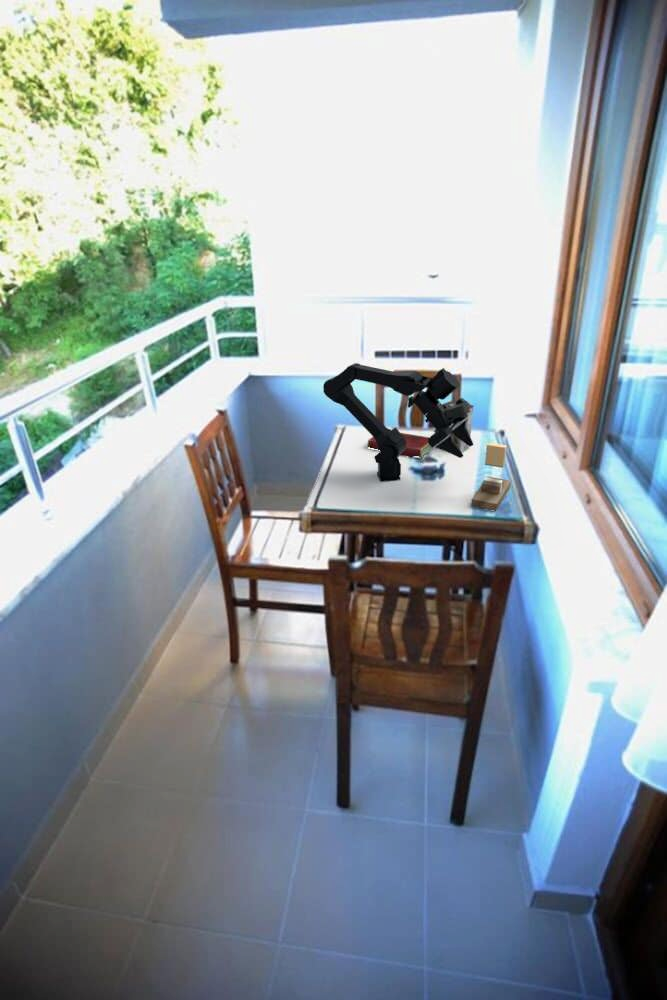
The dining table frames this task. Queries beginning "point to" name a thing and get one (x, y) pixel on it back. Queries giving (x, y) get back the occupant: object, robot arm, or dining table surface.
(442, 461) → the dining table surface
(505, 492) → the stand
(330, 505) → the dining table surface
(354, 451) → the dining table surface
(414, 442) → the hardcover book
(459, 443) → the coffee box
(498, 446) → the stub
